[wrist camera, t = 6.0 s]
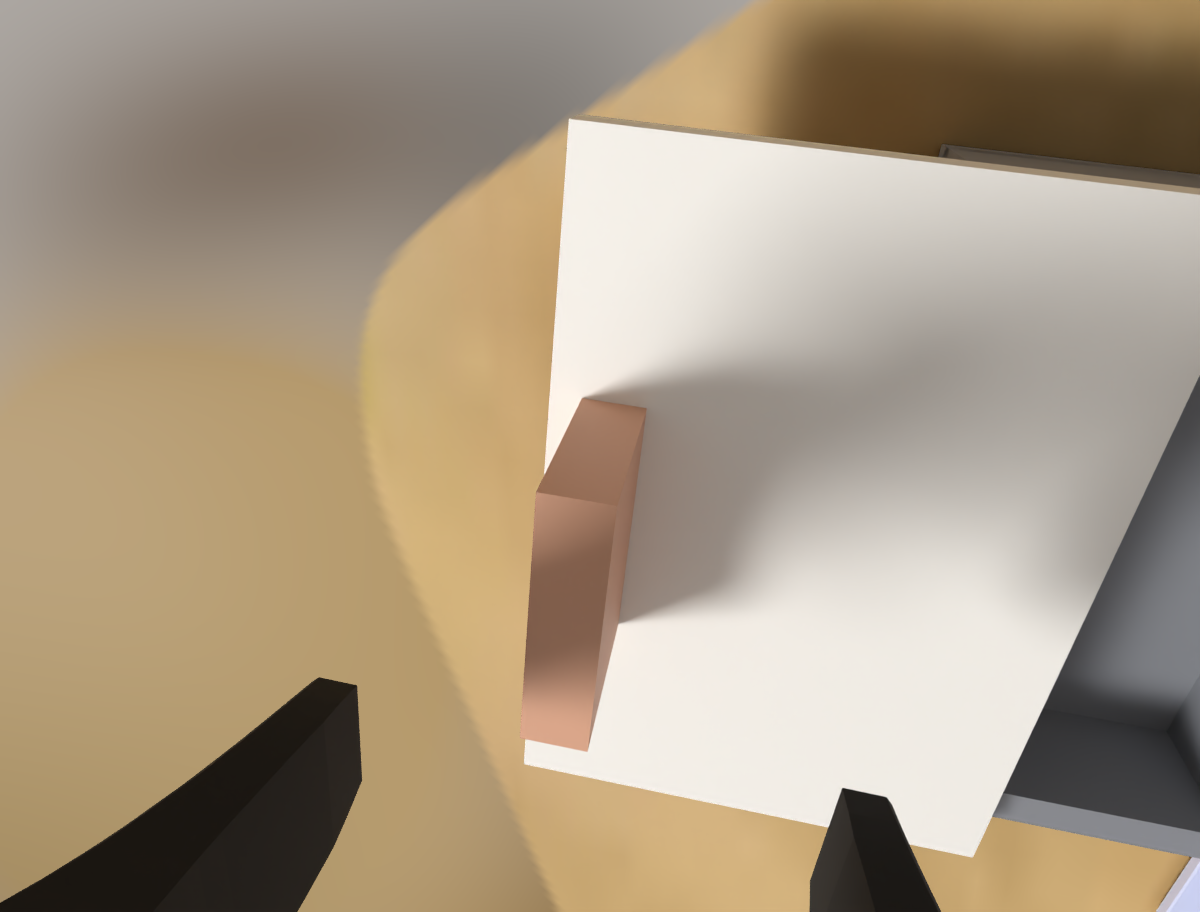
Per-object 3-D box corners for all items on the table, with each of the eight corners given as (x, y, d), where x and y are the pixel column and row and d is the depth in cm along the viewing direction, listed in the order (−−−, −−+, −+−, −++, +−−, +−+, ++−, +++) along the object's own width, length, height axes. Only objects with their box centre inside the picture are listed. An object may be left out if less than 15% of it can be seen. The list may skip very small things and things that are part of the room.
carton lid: (1251, 194, 13) (1461, 266, 9) (964, 827, 19) (1014, 1021, 16) (579, 114, 14) (509, 147, 10) (532, 738, 20) (479, 899, 17)
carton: (1482, 207, 16) (1688, 259, 12) (1172, 736, 22) (1249, 868, 19) (941, 144, 17) (988, 174, 13) (799, 666, 23) (805, 778, 20)
